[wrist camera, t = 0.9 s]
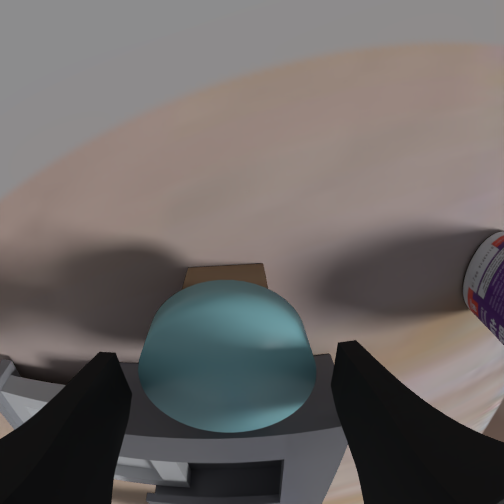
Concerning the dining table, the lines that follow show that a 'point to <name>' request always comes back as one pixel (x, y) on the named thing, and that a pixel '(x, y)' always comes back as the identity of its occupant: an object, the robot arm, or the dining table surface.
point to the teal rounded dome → (227, 357)
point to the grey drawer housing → (242, 450)
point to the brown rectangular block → (226, 274)
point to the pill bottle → (487, 284)
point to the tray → (40, 393)
